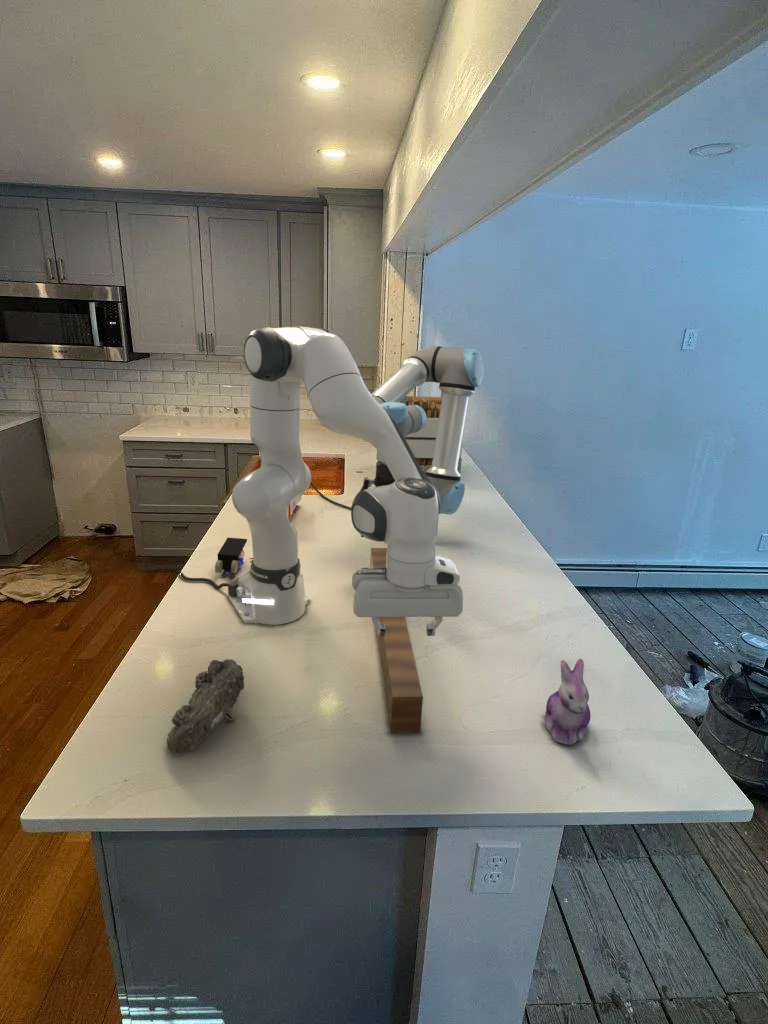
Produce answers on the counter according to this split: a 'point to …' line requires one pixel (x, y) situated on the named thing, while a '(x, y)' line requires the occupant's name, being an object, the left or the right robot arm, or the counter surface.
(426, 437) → the white boxy crate
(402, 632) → the post
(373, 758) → the counter surface
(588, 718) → the figurine
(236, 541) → the figurine character
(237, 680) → the fossil
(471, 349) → the right robot arm
